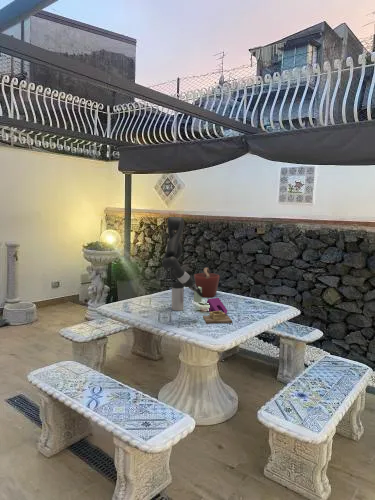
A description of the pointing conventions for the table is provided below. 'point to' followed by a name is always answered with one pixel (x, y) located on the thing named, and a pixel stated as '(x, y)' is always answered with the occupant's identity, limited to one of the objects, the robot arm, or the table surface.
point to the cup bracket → (217, 318)
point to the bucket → (207, 283)
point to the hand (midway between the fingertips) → (200, 294)
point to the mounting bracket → (216, 305)
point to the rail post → (198, 296)
